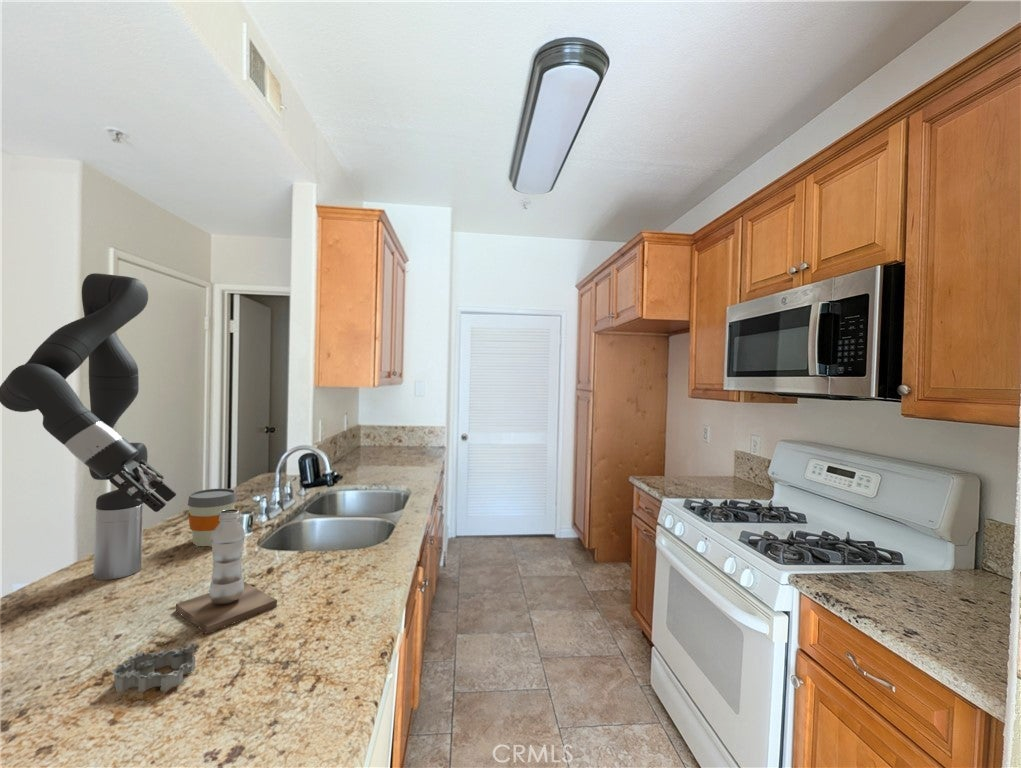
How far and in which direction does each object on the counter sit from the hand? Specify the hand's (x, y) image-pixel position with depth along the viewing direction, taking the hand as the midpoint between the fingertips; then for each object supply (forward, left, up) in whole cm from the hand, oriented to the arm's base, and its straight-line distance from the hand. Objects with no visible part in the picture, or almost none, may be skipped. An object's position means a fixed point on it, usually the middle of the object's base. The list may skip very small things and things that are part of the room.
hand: (167, 503), depth 95 cm
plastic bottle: (+7, +9, -23) cm, 25 cm away
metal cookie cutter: (+22, -9, -24) cm, 34 cm away
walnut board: (+8, +9, -24) cm, 27 cm away
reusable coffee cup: (-38, +25, -24) cm, 52 cm away
